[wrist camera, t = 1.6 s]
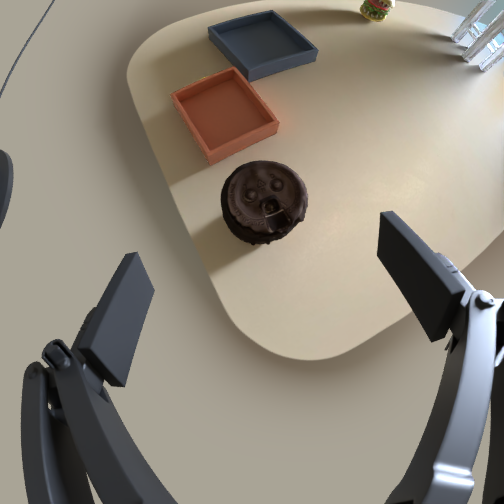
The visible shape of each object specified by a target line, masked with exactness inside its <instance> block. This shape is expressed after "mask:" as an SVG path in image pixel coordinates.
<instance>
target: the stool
mask: <svg viewBox="0 0 504 504" xmlns="http://www.w3.org/2000/svg"><path fill="white" fill-rule="evenodd" d="M495 2H496V0H481V1H480V3H479V4H478V5H477V6H476V7H475V8H474V10H473V11H472V12H471V13H470V14H469V15H468V17H467V18H466V19H465V20H464V21H463V22H462V23H461V25H460V26H459V27H458V28H457V29H456V30H455V32H454V33H453V34H452V35H451V36H450V37H451V39H452V40H453V41H454V42H456V43H458V42H459V41H460V40H461V39H462V38H463V37H464V36H465V35H466V33H467V32H469V34H470V35H471V36H472V38H473V39H474V41H473V42H472V43H471V44H470V45H469V46H468V49H467V50H466V51H465V52H464V53H463V54H462V57H463V58H464V60H466V61H467V62H470V61H471V60H472V59H473V58H474V57H475V56H476V55H477V54H478V53H479V52H480V51H481V50H482V49H483V48H484V47H485V46H486V45H487V47H488V48H489V50H490V51H491V54H490V55H489V56H488V57H487V58H486V59H485V60H484V61H483V62H481V63H480V64H479V67H480V69H481V70H482V71H484V72H486V71H487V70H489V69H490V68H491V67H492V66H493V65H494V64H495V63H497V62H498V61H499V60H500V59H501V58H502V57H504V42H503V43H502V44H501V45H500V46H498V45H497V43H496V42H495V40H494V38H495V37H496V36H497V35H498V34H499V33H500V32H501V31H502V30H503V29H504V9H503V10H502V11H501V13H499V14H498V16H497V17H496V18H495V19H494V20H493V21H492V22H491V23H490V24H489V25H488V26H487V27H486V28H485V29H484V30H483V31H482V32H480V30H479V29H478V28H477V26H476V25H475V24H476V23H477V21H478V20H479V19H480V18H481V17H482V16H483V15H484V14H485V13H486V11H487V10H488V9H489V8H490V7H491V6H492V5H493V4H494V3H495ZM472 27H473V28H474V29H475V30H476V32H477V33H478V36H477V37H476V36H475V35H474V33H473V32H472V31H471V28H472ZM491 41H492V43H493V44H494V46H495V47H496V50H495V51H494V50H493V49H492V47H491V46H490V44H489V43H490V42H491Z"/></svg>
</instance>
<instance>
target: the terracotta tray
mask: <svg viewBox="0 0 504 504" xmlns="http://www.w3.org/2000/svg"><path fill="white" fill-rule="evenodd" d="M170 96H171V99H172V101H173V104H174V106H175V108H176V109H177V111H178V113H179V114H180V116H181V118H182V119H183V121H184V123H185V124H186V126H187V128H188V129H189V131H190V133H191V134H192V136H193V138H194V139H195V141H196V143H197V144H198V146H199V148H200V149H201V151H202V153H203V154H204V156H205V158H206V160H207V161H208V163H209V165H210V166H211V165H213V164H215V163H217V162H219V161H221V160H223V159H224V158H226V157H228V156H230V155H232V154H234V153H236V152H238V151H240V150H242V149H244V148H246V147H248V146H250V145H252V144H254V143H257V142H259V141H261V140H263V139H265V138H267V137H269V136H272V135H274V134H276V133H277V130H278V127H279V123H280V122H279V121H278V120H277V118H276V117H275V116H274V114H273V113H272V112H271V110H270V109H269V108H268V106H267V105H266V104H265V102H264V101H263V100H262V99H261V97H260V96H259V95H258V94H257V92H256V91H255V90H254V89H253V87H252V86H251V85H250V84H249V82H248V81H247V80H246V79H245V78H244V76H243V75H242V74H241V73H240V72H239V71H238V69H237V68H236V67H235V66H233V67H230V68H228V69H225V70H222V71H220V72H217V73H215V74H213V75H210V76H208V77H205V78H203V79H201V80H199V81H196V82H194V83H192V84H190V85H188V86H186V87H183V88H181V89H179V90H177V91H175V92H173V93H171V94H170Z"/></svg>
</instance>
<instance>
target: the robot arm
mask: <svg viewBox="0 0 504 504" xmlns="http://www.w3.org/2000/svg"><path fill="white" fill-rule="evenodd" d="M54 1H55V0H53V1H52V3H51V4H50V6H49V8H48V9H47V11H46V12H45V14H44V16H43V17H42V19H41V21H40V22H39V23H38V25H37V26H36V28H35V30H34V31H33V33H32V34H31V36H30V37H29V39H28V40H27V42H26V44H25V45H24V47H23V49H22V50H21V52H20V54H19V56H18V57H17V59H16V61H15V63H14V65H13V66H12V68H11V71H10V72H9V74H8V76H7V78H6V80H5V83H4V85H3V87H2V89H1V92H0V97H1V95H2V92H3V90H4V88H5V86H6V83H7V81H8V79H9V77H10V75H11V73H12V71H13V69H14V67H15V65H16V63H17V61H18V60H19V58H20V56H21V54H22V52H23V51H24V49H25V47H26V46H27V44H28V42H29V41H30V39H31V37H32V36H33V34H34V33H35V31H36V30H37V28H38V26H39V25H40V23H41V22H42V20H43V18H44V17H45V16H46V14H47V12H48V11H49V9H50V7H51V6H52V4H53V3H54ZM377 257H378V258H379V259H380V261H381V262H382V264H383V265H384V267H385V268H386V270H387V271H388V273H389V274H390V275H391V277H392V279H393V280H394V282H395V283H396V285H397V286H398V288H399V289H400V291H401V292H402V294H403V296H404V297H405V299H406V300H407V302H408V304H409V305H410V307H411V308H412V310H413V312H414V313H415V315H416V317H417V318H418V320H419V321H420V324H421V325H422V327H423V329H424V330H425V332H426V334H427V336H428V337H429V339H430V341H431V342H434V341H437V340H440V339H442V338H445V336H446V334H447V332H448V329H449V328H450V330H451V332H452V333H453V335H452V337H451V338H450V340H449V342H448V344H447V346H446V348H445V350H447V349H448V347H449V349H448V354H447V358H446V363H445V367H444V371H443V375H442V379H441V382H440V386H439V390H438V393H437V396H436V400H435V403H434V406H433V409H432V412H431V415H430V417H429V420H428V423H427V426H426V428H425V431H424V433H423V436H422V438H421V441H420V443H419V446H418V448H417V450H416V452H415V454H414V457H413V459H412V461H411V463H410V465H409V467H408V469H407V471H406V473H405V475H404V477H403V479H402V480H401V482H400V483H399V484H398V485H397V486H396V488H395V489H394V490H393V491H392V493H391V494H390V496H389V497H388V499H387V500H386V502H385V504H467V502H468V500H469V498H470V496H471V493H472V490H473V487H474V479H473V477H472V476H471V471H472V467H473V465H474V462H475V459H476V455H477V453H478V449H479V446H480V442H481V439H482V435H483V431H484V427H485V423H486V418H487V414H488V408H489V403H490V397H491V431H490V446H489V457H488V465H487V472H486V478H485V485H484V491H483V500H482V504H504V299H494V298H493V297H492V296H491V295H490V294H489V293H488V292H485V291H483V290H475V289H474V288H473V286H472V285H471V284H470V283H469V282H468V281H467V279H466V278H465V277H464V276H463V275H462V273H461V272H459V270H458V269H457V268H456V267H455V266H454V264H453V263H452V262H451V261H450V260H449V259H448V258H447V257H445V256H444V255H442V254H440V253H434V252H433V251H432V250H431V249H430V248H429V247H428V246H427V244H426V243H425V242H424V241H423V240H422V239H421V238H420V237H419V236H418V235H417V234H416V233H415V232H414V231H413V230H412V229H411V228H410V227H409V226H408V225H407V224H406V223H405V222H404V221H403V220H402V219H401V218H400V217H399V216H397V215H396V214H395V213H394V212H393V211H387V212H380V227H379V239H378V249H377ZM154 291H155V290H154V288H153V286H152V284H151V281H150V279H149V277H148V275H147V273H146V270H145V268H144V266H143V264H142V261H141V259H140V257H139V254H138V252H133V253H129V254H125V256H124V258H123V260H122V261H121V263H120V265H119V266H118V268H117V270H116V272H115V273H114V275H113V277H112V279H111V281H110V282H109V284H108V286H107V288H106V290H105V291H104V293H103V295H102V297H101V299H100V301H99V303H98V305H97V307H94V308H93V309H92V310H91V311H90V312H89V313H88V314H87V316H86V319H85V320H84V324H83V325H82V327H81V328H80V331H79V333H78V335H77V337H76V339H75V341H74V343H73V345H72V348H71V350H70V349H69V348H68V347H67V346H66V345H65V343H64V342H63V341H62V340H60V339H55V340H53V341H51V342H50V343H48V344H47V345H46V347H45V348H44V350H43V352H42V359H43V360H44V361H45V362H46V363H47V364H48V365H49V367H47V368H44V367H43V365H41V363H40V362H37V361H36V362H33V363H31V364H30V365H29V366H28V367H27V369H26V371H25V373H24V379H23V389H22V404H21V448H22V461H23V471H24V479H25V486H26V492H27V498H28V503H29V504H95V503H94V500H93V496H92V493H91V489H90V486H89V482H88V478H87V474H88V476H89V478H90V480H91V482H92V484H93V486H94V488H95V490H96V492H97V494H98V496H99V498H100V500H101V501H102V503H103V504H178V503H177V502H176V501H175V500H174V498H173V497H172V496H171V495H170V493H169V492H168V491H167V490H166V488H165V487H164V486H163V484H162V483H161V482H160V480H159V479H158V478H157V476H156V475H155V473H154V472H153V470H152V469H151V468H150V466H149V465H148V463H147V462H146V460H145V459H144V457H143V456H142V454H141V452H140V451H139V450H138V448H137V446H136V445H135V443H134V441H133V439H132V438H131V436H130V434H129V433H128V431H127V429H126V427H125V426H124V424H123V422H122V420H121V418H120V416H119V415H118V412H117V411H116V409H115V407H114V405H113V403H112V401H111V399H110V397H109V394H108V392H107V390H106V389H105V388H104V386H103V382H104V379H105V380H106V381H107V382H108V383H109V384H110V385H111V386H116V387H125V384H126V381H127V377H128V373H129V370H130V366H131V363H132V359H133V356H134V353H135V349H136V346H137V342H138V339H139V336H140V332H141V330H142V327H143V324H144V320H145V317H146V314H147V311H148V308H149V306H150V303H151V300H152V297H153V294H154ZM48 403H49V404H50V405H51V410H50V409H49V408H48ZM86 472H87V474H86Z"/></svg>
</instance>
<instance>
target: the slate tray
mask: <svg viewBox="0 0 504 504" xmlns="http://www.w3.org/2000/svg"><path fill="white" fill-rule="evenodd" d="M208 34H209V39H210V40H211V41H212V42H213V43H214V44H215V46H216V47H217V48H218V49H219V50H220V51H221V52H222V53H223V54H224V55H225V57H226V58H227V59H228V60H229V61H230V62H231V63H232V65H233V66H235V67H236V68H237V69H238V71H239V72H240V73H241V74H242V75H243V76H244V78H245V79H246V80H247V81H248V82H252V81H255V80H257V79H260V78H263V77H266V76H268V75H271V74H274V73H277V72H280V71H284V70H287V69H290V68H293V67H297V66H300V65H304V64H307V63H311V62H315V60H316V57H317V54H318V51H319V50H318V49H317V48H316V47H315V46H314V45H313V44H312V43H311V42H310V41H309V40H307V39H306V38H305V37H304V36H303V35H302V34H301V33H300V32H299V31H297V30H296V29H295V28H294V27H293V26H292V25H290V24H289V23H288V22H287V21H286V20H284V19H283V18H282V17H281V16H279V15H278V14H277V13H276V12H274V11H273V10H270V11H265V12H260V13H256V14H252V15H247V16H244V17H240V18H236V19H232V20H229V21H226V22H222V23H219V24H216V25H213V26H210V27H208Z"/></svg>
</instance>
